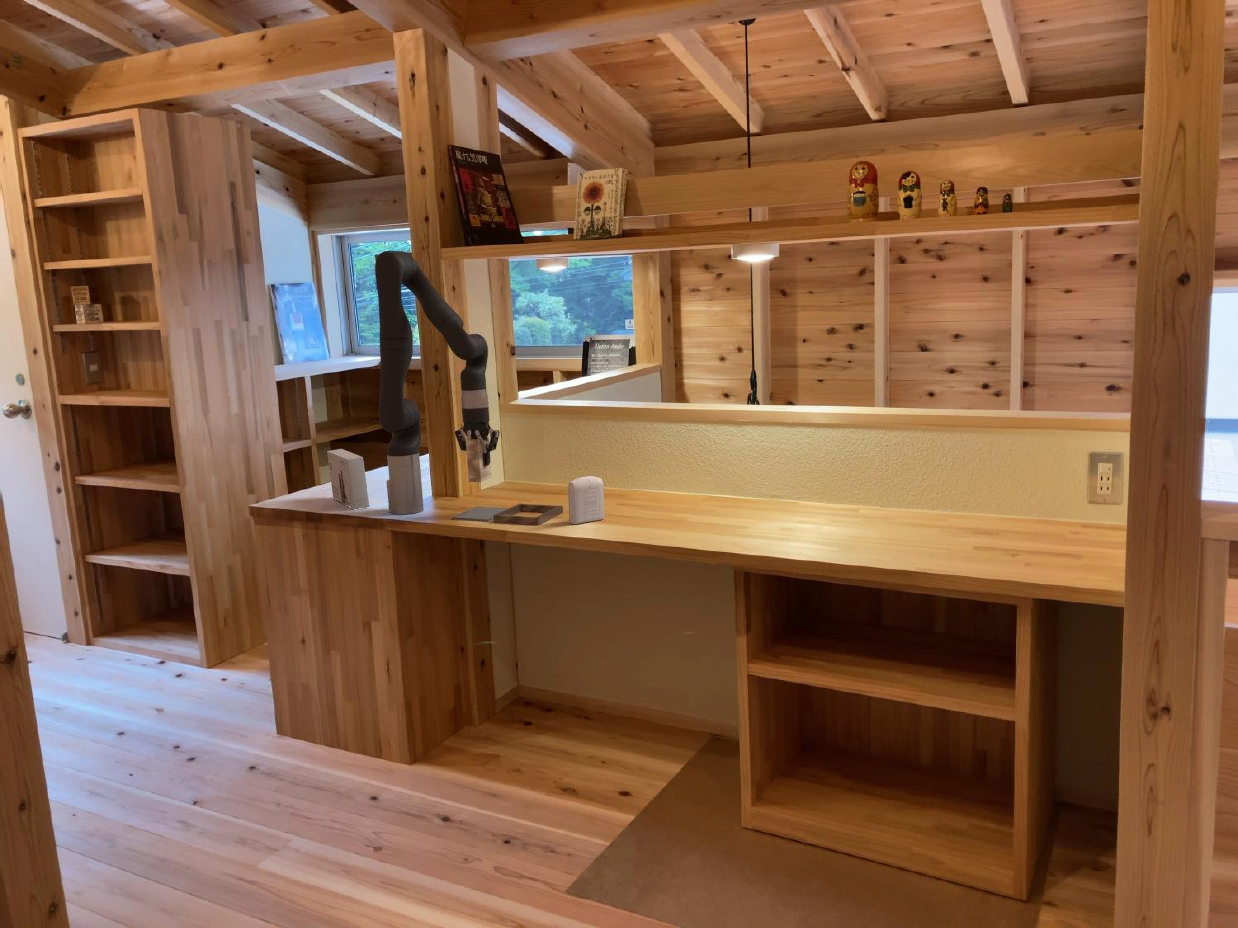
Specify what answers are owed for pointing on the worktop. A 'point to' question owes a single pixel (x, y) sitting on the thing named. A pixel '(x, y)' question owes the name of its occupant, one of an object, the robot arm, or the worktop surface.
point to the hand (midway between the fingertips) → (479, 465)
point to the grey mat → (479, 513)
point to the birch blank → (477, 462)
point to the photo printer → (585, 499)
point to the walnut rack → (507, 517)
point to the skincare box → (348, 478)
